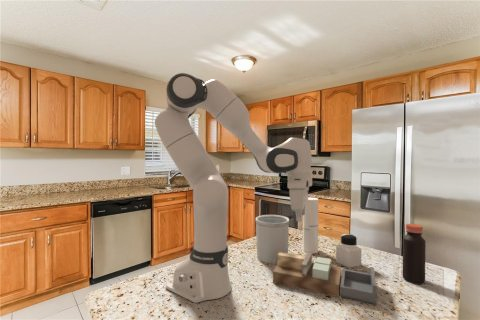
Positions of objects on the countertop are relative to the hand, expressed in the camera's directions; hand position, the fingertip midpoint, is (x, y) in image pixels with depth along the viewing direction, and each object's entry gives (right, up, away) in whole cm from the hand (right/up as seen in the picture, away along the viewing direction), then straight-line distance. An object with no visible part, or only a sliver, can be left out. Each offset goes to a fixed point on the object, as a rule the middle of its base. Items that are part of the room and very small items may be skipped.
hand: (300, 218), depth 93 cm
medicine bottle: (+23, -22, +12) cm, 34 cm away
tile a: (+5, -18, -7) cm, 20 cm away
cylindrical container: (+11, -22, +27) cm, 36 cm away
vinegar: (+41, -23, -2) cm, 47 cm away
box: (+17, -22, -9) cm, 29 cm away
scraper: (-3, -18, 0) cm, 18 cm away
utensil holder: (-8, -22, +18) cm, 30 cm away
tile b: (+8, -18, -2) cm, 20 cm away
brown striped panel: (+2, -22, -2) cm, 22 cm away
